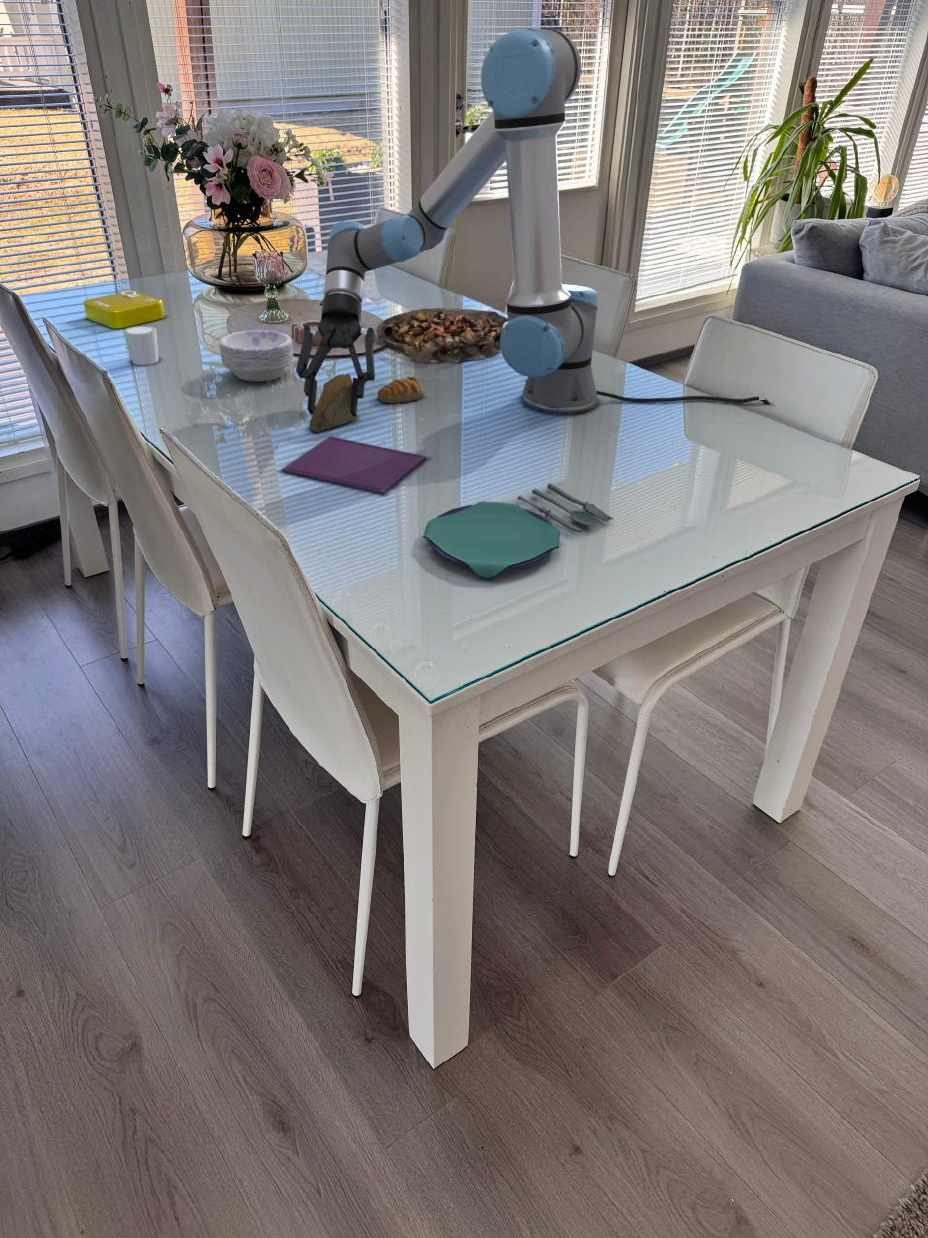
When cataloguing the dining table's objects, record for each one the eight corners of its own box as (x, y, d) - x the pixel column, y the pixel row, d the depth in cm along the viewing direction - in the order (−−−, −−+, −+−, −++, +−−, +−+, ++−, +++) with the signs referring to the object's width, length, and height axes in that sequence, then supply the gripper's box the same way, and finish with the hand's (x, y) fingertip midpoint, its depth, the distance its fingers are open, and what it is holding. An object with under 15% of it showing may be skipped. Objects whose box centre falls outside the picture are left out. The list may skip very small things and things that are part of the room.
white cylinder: (123, 363, 199) (116, 331, 195) (143, 354, 204) (137, 323, 200) (148, 367, 197) (142, 335, 193) (167, 358, 202) (162, 327, 198)
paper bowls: (289, 361, 202) (285, 325, 198) (299, 383, 190) (296, 346, 186) (220, 366, 198) (215, 330, 194) (227, 390, 186) (222, 352, 182)
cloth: (426, 458, 160) (426, 456, 160) (383, 494, 148) (383, 491, 148) (330, 438, 166) (330, 436, 166) (282, 471, 154) (281, 468, 154)
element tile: (83, 317, 227) (79, 298, 224) (135, 306, 236) (131, 287, 234) (115, 330, 219) (111, 310, 216) (168, 317, 228) (165, 298, 226)
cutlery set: (400, 538, 136) (399, 524, 135) (544, 486, 151) (545, 474, 150) (482, 594, 123) (483, 580, 122) (631, 532, 139) (632, 518, 137)
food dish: (467, 377, 198) (467, 343, 193) (349, 353, 212) (346, 320, 208) (540, 333, 222) (542, 301, 217) (430, 314, 236) (429, 283, 232)
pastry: (389, 407, 180) (388, 389, 178) (370, 398, 184) (369, 380, 182) (426, 397, 185) (426, 379, 183) (407, 388, 189) (406, 371, 187)
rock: (311, 427, 165) (363, 414, 167) (297, 383, 165) (349, 370, 167) (310, 442, 175) (359, 429, 177) (297, 400, 175) (346, 388, 177)
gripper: (396, 313, 175) (387, 422, 171) (295, 309, 176) (283, 418, 172) (392, 292, 168) (382, 406, 164) (286, 288, 169) (273, 401, 165)
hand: (332, 412), depth 168 cm, fingers closed on rock, 7 cm apart
